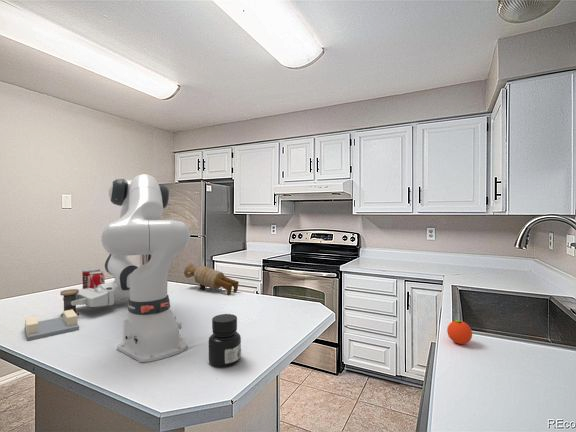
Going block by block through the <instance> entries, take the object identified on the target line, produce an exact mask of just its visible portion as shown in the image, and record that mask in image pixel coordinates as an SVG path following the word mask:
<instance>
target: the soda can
mask: <svg viewBox="0 0 576 432" xmlns="http://www.w3.org/2000/svg"><path fill="white" fill-rule="evenodd" d="M105 281H106V280H105V274H104V271H102V270H100V271H95V272H90V273H89V276H88V288H93V289H95V288H97V287H98V285H100V284H105Z"/></svg>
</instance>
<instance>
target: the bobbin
mask: <svg viewBox="0 0 576 432" xmlns="http://www.w3.org/2000/svg"><path fill="white" fill-rule="evenodd" d="M79 290H80V289H78V288H74V289H73V288H72V289H65V290H61V291H60V294H59V295H60V296H63V297H64V301H63V311H67V310H72V309H73V310H74V312H75V313H76V315H78V316H80V311H78V310H77V305H74V306H73V305H71V301H72V300H76V294H77V293H79ZM60 317H63V312H62V313H61V314H60Z"/></svg>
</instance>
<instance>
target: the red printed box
mask: <svg viewBox="0 0 576 432" xmlns="http://www.w3.org/2000/svg"><path fill="white" fill-rule="evenodd" d="M100 269H101V268H99V267H92V268H91V267H90V268H86V269H85V268H84V269H82V273H81V274H82V289H87V288H88V276H89V273H90V272H95V271H101V270H100Z"/></svg>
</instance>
